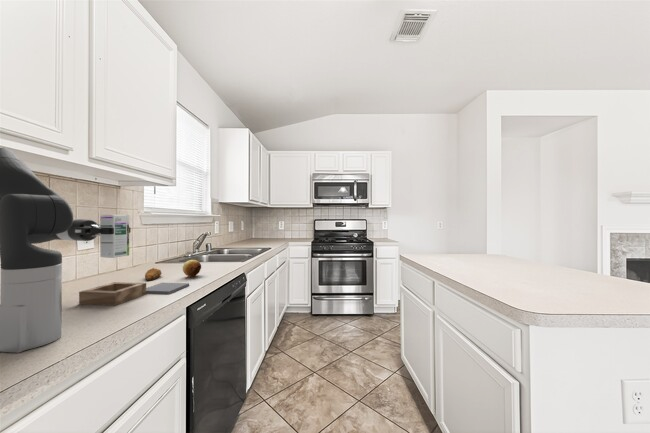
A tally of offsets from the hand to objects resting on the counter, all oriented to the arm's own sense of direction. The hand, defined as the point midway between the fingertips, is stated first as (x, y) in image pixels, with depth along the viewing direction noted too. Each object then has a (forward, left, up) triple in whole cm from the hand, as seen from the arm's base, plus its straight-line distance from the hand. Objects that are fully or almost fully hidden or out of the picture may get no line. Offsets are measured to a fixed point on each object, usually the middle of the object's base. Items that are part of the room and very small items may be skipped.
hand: (121, 230), depth 91 cm
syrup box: (0, +3, -9) cm, 10 cm away
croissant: (+31, +13, -24) cm, 41 cm away
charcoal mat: (+13, -7, -24) cm, 28 cm away
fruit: (+35, -4, -24) cm, 42 cm away
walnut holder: (0, +2, -24) cm, 24 cm away
